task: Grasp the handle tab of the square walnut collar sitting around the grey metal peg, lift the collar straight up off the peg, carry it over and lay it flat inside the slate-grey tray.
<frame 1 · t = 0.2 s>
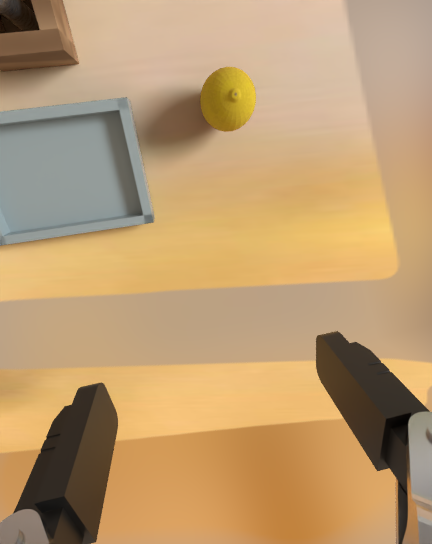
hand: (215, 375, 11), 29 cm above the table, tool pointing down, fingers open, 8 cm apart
peg: (26, 20, 27), on the table
lemon: (220, 106, 32), on the table
collar: (26, 20, 27), on the table
tray: (65, 174, 33), on the table
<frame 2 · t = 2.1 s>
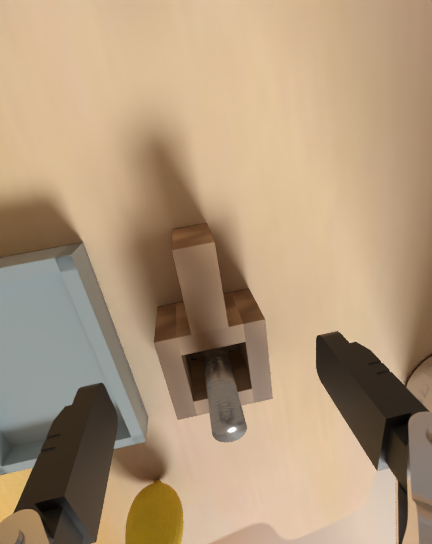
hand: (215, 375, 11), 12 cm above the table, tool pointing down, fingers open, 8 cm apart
peg: (211, 335, 24), on the table
lemon: (157, 478, 31), on the table
collar: (211, 335, 24), on the table
tray: (41, 360, 23), on the table
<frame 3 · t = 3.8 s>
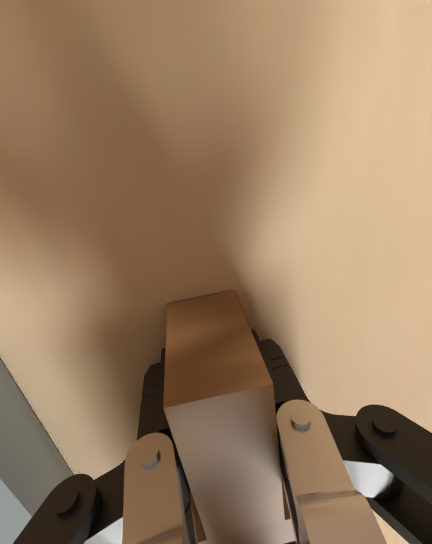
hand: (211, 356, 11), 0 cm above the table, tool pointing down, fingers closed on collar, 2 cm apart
collar: (233, 458, 14), on the table, touching gripper
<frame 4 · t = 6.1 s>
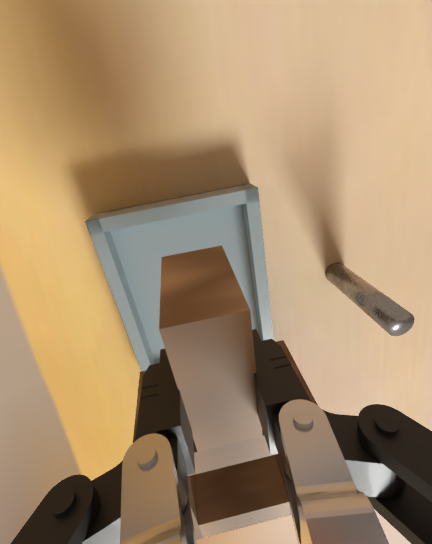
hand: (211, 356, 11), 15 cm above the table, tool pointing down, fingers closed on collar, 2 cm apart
peg: (335, 272, 28), on the table
collar: (222, 401, 16), point 12 cm above the table, touching gripper
tray: (195, 292, 27), on the table
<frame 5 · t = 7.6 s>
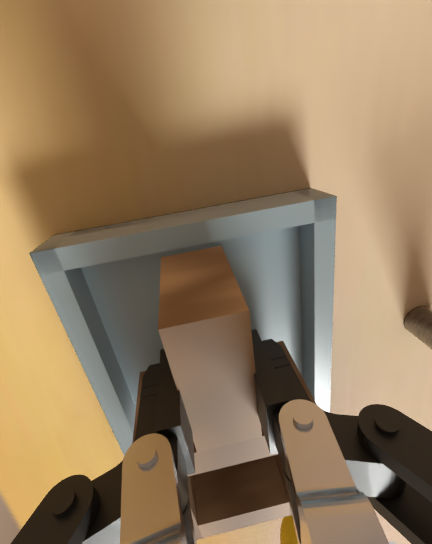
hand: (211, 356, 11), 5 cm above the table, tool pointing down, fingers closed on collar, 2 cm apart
peg: (417, 318, 19), on the table
lemon: (296, 494, 26), on the table
collar: (221, 402, 16), point 2 cm above the table, touching gripper
tray: (213, 351, 18), on the table
when the fingers open (3 cm above the table, at t = 8.3 s): collar stays where it is, resting on tray.
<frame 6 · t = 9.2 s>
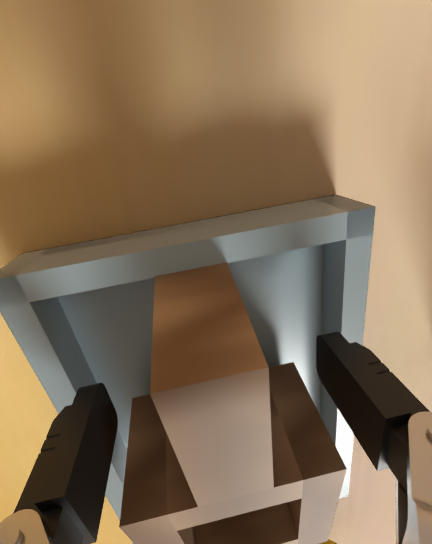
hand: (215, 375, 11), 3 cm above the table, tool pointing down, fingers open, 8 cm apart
lemon: (307, 529, 24), on the table
collar: (223, 424, 15), point 1 cm above the table, tilted 7°, touching tray
tray: (217, 382, 15), on the table
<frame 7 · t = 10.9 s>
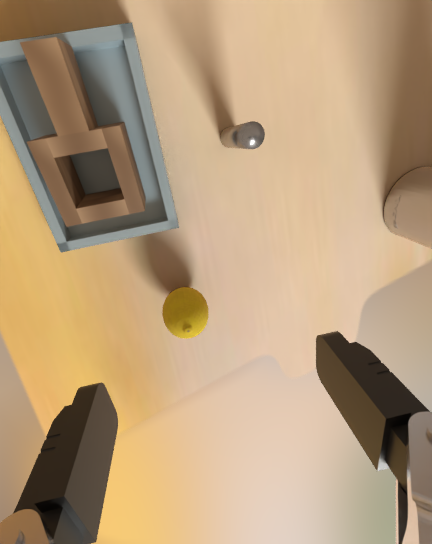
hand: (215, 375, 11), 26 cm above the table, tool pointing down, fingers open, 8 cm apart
peg: (229, 137, 31), on the table
lemon: (183, 294, 38), on the table
collar: (99, 168, 29), point 1 cm above the table, tilted 7°, touching tray
tray: (97, 151, 29), on the table
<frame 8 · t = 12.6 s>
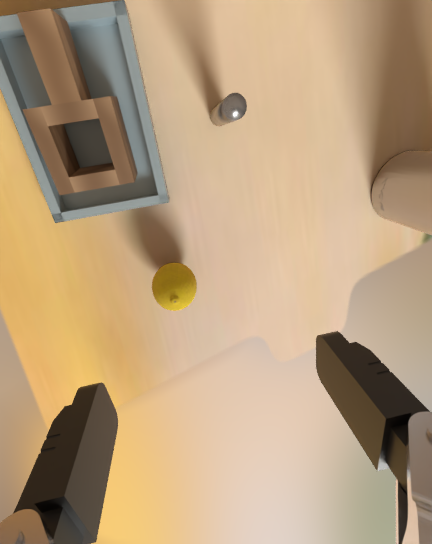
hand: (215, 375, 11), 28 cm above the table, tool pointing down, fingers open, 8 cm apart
peg: (218, 116, 32), on the table
lemon: (174, 272, 39), on the table
collar: (93, 142, 30), point 1 cm above the table, tilted 7°, touching tray
tray: (91, 126, 31), on the table
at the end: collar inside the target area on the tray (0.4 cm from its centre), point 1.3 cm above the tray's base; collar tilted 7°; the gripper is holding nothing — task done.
